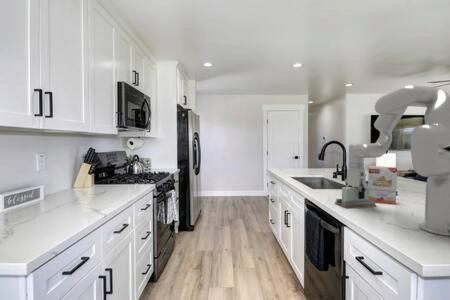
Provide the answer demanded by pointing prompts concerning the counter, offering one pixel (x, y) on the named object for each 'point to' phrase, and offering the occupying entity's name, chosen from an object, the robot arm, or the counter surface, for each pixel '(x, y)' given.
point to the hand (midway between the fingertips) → (355, 196)
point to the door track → (355, 204)
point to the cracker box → (382, 184)
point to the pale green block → (353, 194)
